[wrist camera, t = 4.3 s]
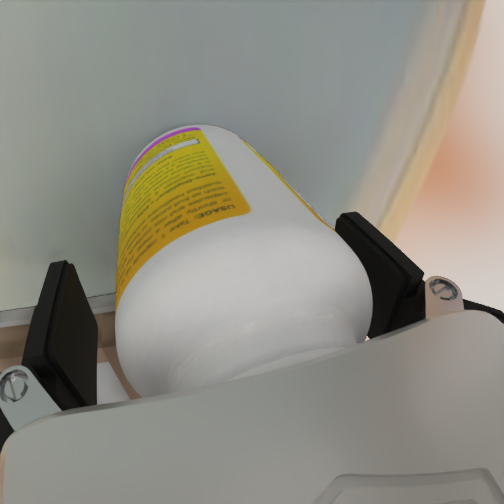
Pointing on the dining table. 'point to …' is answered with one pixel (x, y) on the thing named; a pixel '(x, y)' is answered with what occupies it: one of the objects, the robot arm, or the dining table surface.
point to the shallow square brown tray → (108, 366)
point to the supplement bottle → (226, 268)
